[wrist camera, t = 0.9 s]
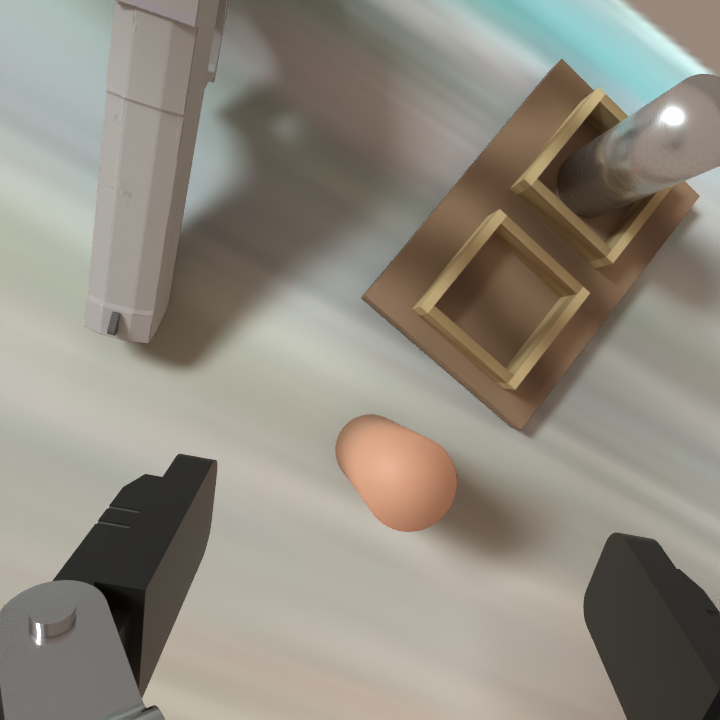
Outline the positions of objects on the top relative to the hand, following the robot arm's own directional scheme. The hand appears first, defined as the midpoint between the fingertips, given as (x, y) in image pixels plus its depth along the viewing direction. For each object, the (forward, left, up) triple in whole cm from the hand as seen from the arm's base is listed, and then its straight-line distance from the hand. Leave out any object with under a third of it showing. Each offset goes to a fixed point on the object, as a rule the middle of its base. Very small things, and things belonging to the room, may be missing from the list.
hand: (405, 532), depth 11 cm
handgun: (-20, -2, -25) cm, 32 cm away
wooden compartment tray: (-7, +17, -24) cm, 30 cm away
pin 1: (+3, +3, -24) cm, 25 cm away
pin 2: (-10, +21, -23) cm, 32 cm away
